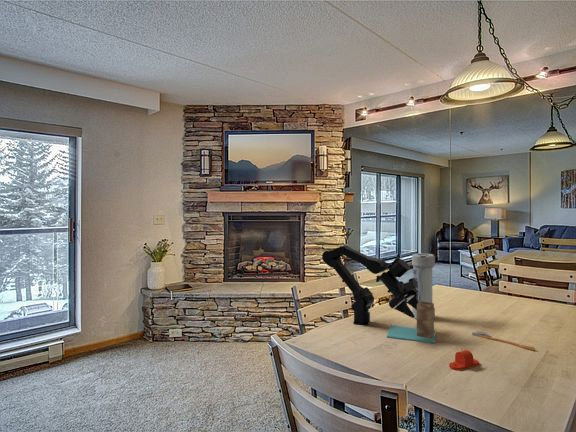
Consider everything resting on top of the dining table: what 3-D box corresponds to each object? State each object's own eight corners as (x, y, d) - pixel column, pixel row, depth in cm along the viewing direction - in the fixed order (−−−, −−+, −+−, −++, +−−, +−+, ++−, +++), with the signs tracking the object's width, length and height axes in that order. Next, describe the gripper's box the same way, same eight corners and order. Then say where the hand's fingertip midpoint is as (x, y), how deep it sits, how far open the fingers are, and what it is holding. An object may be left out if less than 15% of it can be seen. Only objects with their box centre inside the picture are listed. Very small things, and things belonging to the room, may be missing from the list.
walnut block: (416, 335, 144) (416, 303, 143) (421, 332, 147) (421, 301, 147) (429, 338, 140) (429, 305, 140) (433, 335, 144) (433, 303, 144)
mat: (386, 337, 144) (386, 335, 144) (390, 326, 157) (390, 325, 157) (434, 343, 137) (434, 341, 137) (434, 331, 150) (434, 330, 150)
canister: (411, 319, 167) (411, 255, 166) (412, 313, 176) (412, 253, 175) (434, 321, 163) (434, 256, 162) (434, 315, 172) (434, 253, 172)
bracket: (456, 372, 114) (456, 356, 114) (446, 367, 117) (446, 352, 117) (481, 365, 118) (481, 350, 118) (471, 361, 122) (471, 346, 122)
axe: (540, 347, 133) (540, 343, 132) (534, 353, 129) (534, 348, 128) (478, 332, 150) (478, 328, 150) (471, 336, 146) (471, 332, 146)
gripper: (396, 275, 142) (424, 308, 135) (414, 269, 156) (440, 298, 149) (378, 292, 147) (403, 324, 140) (396, 284, 161) (421, 313, 154)
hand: (418, 314), depth 146 cm, fingers open, 9 cm apart
